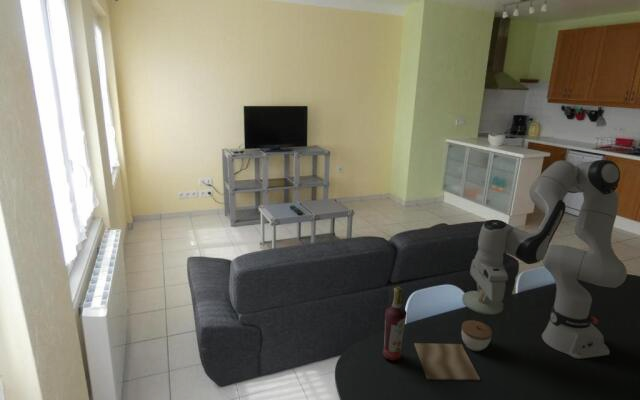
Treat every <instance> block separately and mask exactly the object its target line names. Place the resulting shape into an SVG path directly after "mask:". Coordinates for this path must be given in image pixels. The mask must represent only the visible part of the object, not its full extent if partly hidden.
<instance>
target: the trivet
mask: <svg viewBox="0 0 640 400" xmlns="http://www.w3.org/2000/svg"><path fill="white" fill-rule="evenodd" d="M414 347H415V348H414V349H415V350H416V354H417V356H418V358H419V361H420V363H421V366H422V370H423V372H424V376H425V378H426V380H433V381H434V380H435V381H437V380H438V381H481V378H480V376H479V374H478V372H477V370H476V369H475V367H474V365H473V363H472V361H471V360H470V357H469V355H468V354H467V352H466V350H465V348H464V346H463V344H462V343H432V342H431V343H430V342H429V343H427V342H426V343H425V342H424V343H421V342H418V343H417V342H414Z"/></svg>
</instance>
